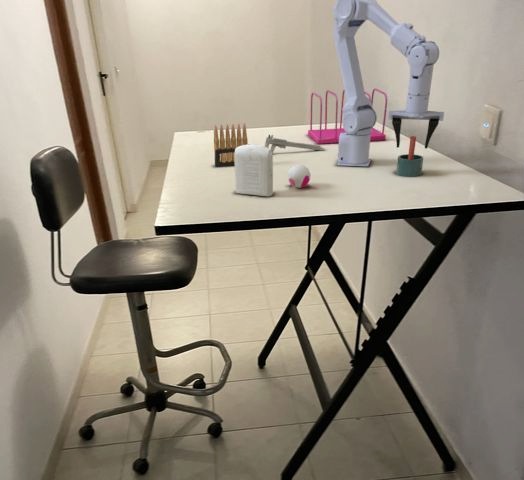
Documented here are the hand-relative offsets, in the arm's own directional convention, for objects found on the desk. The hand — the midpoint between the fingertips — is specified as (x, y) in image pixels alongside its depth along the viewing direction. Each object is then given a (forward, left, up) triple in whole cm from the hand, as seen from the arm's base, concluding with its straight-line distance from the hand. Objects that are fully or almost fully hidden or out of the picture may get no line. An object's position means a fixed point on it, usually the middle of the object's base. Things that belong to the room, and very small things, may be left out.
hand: (411, 147), depth 149 cm
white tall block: (-39, -27, -7) cm, 48 cm away
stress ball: (-28, -19, -7) cm, 35 cm away
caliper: (-38, +21, -7) cm, 44 cm away
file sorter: (-24, +46, -7) cm, 52 cm away
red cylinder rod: (0, 0, -7) cm, 7 cm away
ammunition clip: (-54, +1, -7) cm, 55 cm away
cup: (0, 0, -7) cm, 7 cm away
